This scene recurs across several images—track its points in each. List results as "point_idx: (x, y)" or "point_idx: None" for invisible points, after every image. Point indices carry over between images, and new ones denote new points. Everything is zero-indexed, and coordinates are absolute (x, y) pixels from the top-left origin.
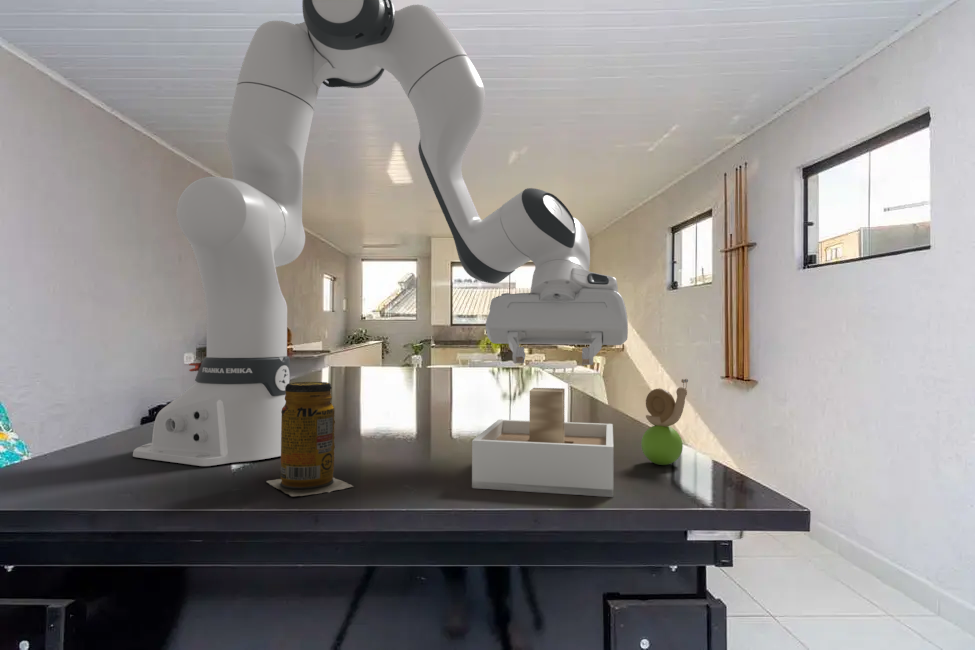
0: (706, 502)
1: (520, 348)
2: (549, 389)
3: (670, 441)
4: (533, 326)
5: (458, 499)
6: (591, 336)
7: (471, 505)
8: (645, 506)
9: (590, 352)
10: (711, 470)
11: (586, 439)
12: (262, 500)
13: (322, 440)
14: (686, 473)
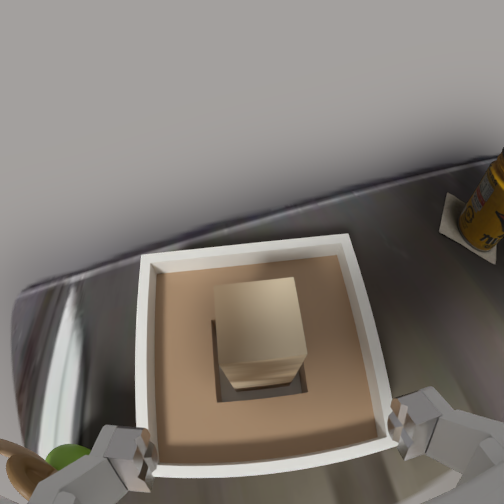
0: (71, 297)
1: (425, 415)
2: (254, 324)
3: (59, 446)
4: (440, 502)
5: (327, 229)
6: (73, 500)
7: (306, 217)
8: (130, 267)
9: (106, 435)
10: (39, 443)
11: (195, 429)
12: (457, 187)
13: (477, 192)
14: (66, 424)
